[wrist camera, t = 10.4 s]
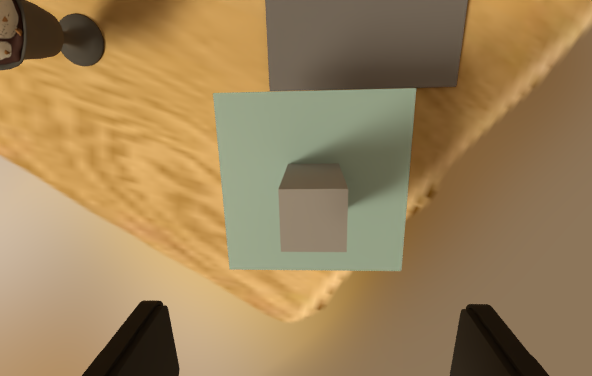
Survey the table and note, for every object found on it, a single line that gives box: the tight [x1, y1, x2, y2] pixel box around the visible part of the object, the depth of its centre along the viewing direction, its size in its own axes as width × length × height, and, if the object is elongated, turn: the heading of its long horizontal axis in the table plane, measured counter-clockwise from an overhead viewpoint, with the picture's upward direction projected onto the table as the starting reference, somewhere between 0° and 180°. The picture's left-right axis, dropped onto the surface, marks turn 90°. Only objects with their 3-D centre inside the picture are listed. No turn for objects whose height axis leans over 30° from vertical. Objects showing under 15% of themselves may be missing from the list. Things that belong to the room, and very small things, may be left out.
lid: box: [213, 88, 416, 271], centre depth 22 cm, size 15×15×8 cm
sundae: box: [0, 0, 104, 70], centre depth 25 cm, size 7×7×15 cm
